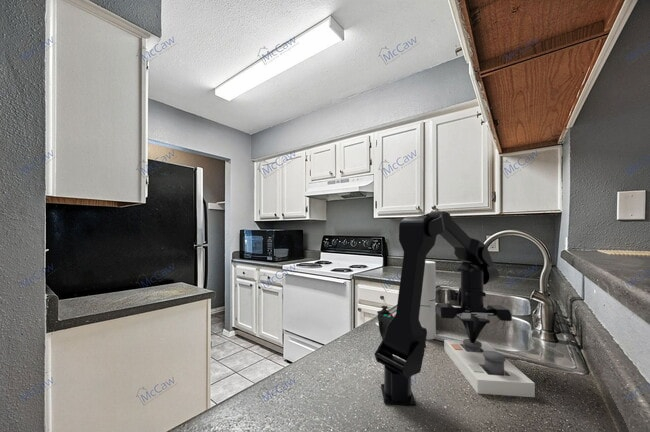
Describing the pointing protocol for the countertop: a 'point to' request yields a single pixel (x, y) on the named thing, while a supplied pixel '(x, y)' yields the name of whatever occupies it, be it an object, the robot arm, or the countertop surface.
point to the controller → (384, 320)
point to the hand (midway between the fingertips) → (472, 342)
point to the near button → (494, 363)
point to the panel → (480, 380)
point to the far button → (472, 346)
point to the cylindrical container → (428, 300)
